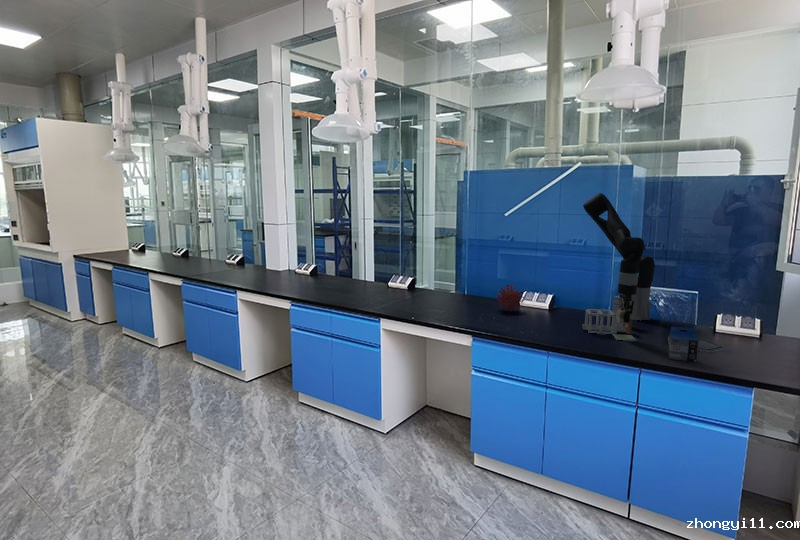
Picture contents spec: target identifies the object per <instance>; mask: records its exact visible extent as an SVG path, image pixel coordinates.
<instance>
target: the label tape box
mask: <svg viewBox="0 0 800 540" xmlns="http://www.w3.org/2000/svg"><path fill="white" fill-rule="evenodd" d="M683 330H684V331H683ZM697 330H698V329H697V328H693V327H684V326H683V327H682V326H670V332H669V336H670V342H669V345H668V354H667V355H668V359H670V360H675V361H676V360H677V361H683V362H684V361H687V362H697V358H698V351H697V349H698V340H699V339H698V336H697Z"/></svg>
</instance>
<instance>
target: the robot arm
mask: <svg viewBox="0 0 800 540" xmlns="http://www.w3.org/2000/svg"><path fill="white" fill-rule="evenodd" d="M582 207H583V210H584V211H585V212H586V214H587V215H588V216H589V217H590V218H591V219H592V220H593V221H594V223H595V224H596V225H597V226H598V227H599V228H600V230H601V231H602V232H603V234H604V235H605V236H606V238H607V240H609V242H610V243H611V244H612V245H613V247H614V248H615V249H616V250H617V252H618V254H620V256H621V258H622V259H621V261H620V266H619V275H618V280H617V294H620V295H618V296H619V308H620V309H621V310H624V322H629V320H630V314H632V321H637V320H640V321H639V322H642V321H641V320H649V321H650V316H651V303H652V302H651V301H650V299H651V285H652V283H653V281H654V276H655V275H654V274H655V268H656V267H655V266H656V264H655V263H656V262H655V260H654V258H653V257H651V256H648V255H643V254H644V250H645V241H644V240H643V238H641V237H638V236H637V237H636V236H635V237H633V236H632V235H631V231H630V229H629V228H628V227H627V225H626V224H625V223H624V222H623V221H622V219H621V218H620V216H619V213H618V212H617V211H616V209H615V207H614V206H613V204H612V203H611V200H609V199H608V197H607V196H606V195H605V194H603V193H602V192H599V193H597V194H595V195H594V196H592V197H591V198H590V199H588V200H587V201H585V202H584V203H583V206H582ZM605 212H607V219H604V218H602V217H601V215H602V214H605ZM622 303H623V304H622ZM628 309H629V311H628Z"/></svg>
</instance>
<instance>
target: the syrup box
mask: <svg viewBox="0 0 800 540" xmlns="http://www.w3.org/2000/svg"><path fill="white" fill-rule="evenodd" d="M619 296H620V295H617V296H613V305H612V308H613V309H612V312H613V313H614V314H615V315H616V316H615V324H616V325H617V326H625V323H619V322H618V321H617V320H616V317H617V309H620V308H619ZM622 304H623V303H622ZM628 310H629V309H628Z"/></svg>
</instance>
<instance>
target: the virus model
mask: <svg viewBox="0 0 800 540" xmlns="http://www.w3.org/2000/svg"><path fill="white" fill-rule="evenodd" d="M505 287H506V288H505ZM517 288H518V287H516V285H512V284H506V285H505V286H501V288H500V290H497V292H498V293H499V294H498V295H497V296H496V300H497V301H498V302H497V305H499V307H500V308H501V309H503V308H505V309H504V312H510V313H511V312H513V311H514V312H515V311H518V310H519V308H520V306H521V305H523V304H522V303H524V301H525V298H524V296H523V292H522V291H520V288H518V289H517Z"/></svg>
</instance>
